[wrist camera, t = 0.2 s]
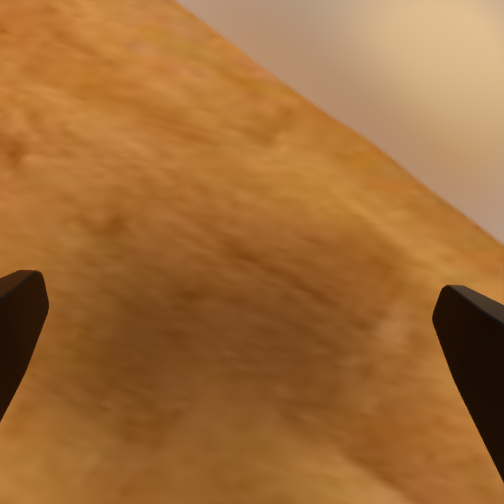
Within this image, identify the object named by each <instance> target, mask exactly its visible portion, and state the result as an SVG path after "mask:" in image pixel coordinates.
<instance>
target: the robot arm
mask: <svg viewBox="0 0 504 504" xmlns="http://www.w3.org/2000/svg"><path fill="white" fill-rule="evenodd" d="M48 310H49V301H48V296H47V291H46V287H45V282H44V278H43V275H42V273H41V272H39V271H36V270H19V271H16V272H14V273H12V274H9V275H7V276H5V277H2V278H0V422H1V420H2V418H3V416H4V414H5V412H6V410H7V408H8V406H9V404H10V402H11V400H12V398H13V396H14V394H15V392H16V390H17V389H18V387H19V385H20V383H21V381H22V378H23V376H24V374H25V372H26V370H27V367H28V365H29V362H30V360H31V357H32V354H33V352H34V349H35V346H36V343H37V341H38V338H39V335H40V333H41V330H42V327H43V325H44V322H45V319H46V317H47V314H48ZM432 320H433V325H434V328H435V331H436V333H437V336H438V339H439V342H440V344H441V347H442V350H443V353H444V355H445V358H446V361H447V364H448V366H449V369H450V372H451V374H452V377H453V379H454V382H455V384H456V386H457V388H458V390H459V392H460V394H461V397H462V399H463V401H464V403H465V405H466V407H467V409H468V411H469V413H470V415H471V417H472V419H473V421H474V423H475V425H476V427H477V429H478V431H479V433H480V435H481V437H482V439H483V442H484V444H485V446H486V448H487V450H488V452H489V454H490V456H491V458H492V460H493V462H494V464H495V466H496V468H497V470H498V472H499V474H500V476H501V478H502V480H503V482H504V305H502V304H500V303H498V302H496V301H494V300H492V299H490V298H488V297H486V296H484V295H482V294H480V293H478V292H476V291H474V290H472V289H470V288H467V287H465V286H462V285H446V286H444V287H443V288H442V290H441V292H440V295H439V297H438V300H437V303H436V306H435V309H434V311H433V316H432Z"/></svg>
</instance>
